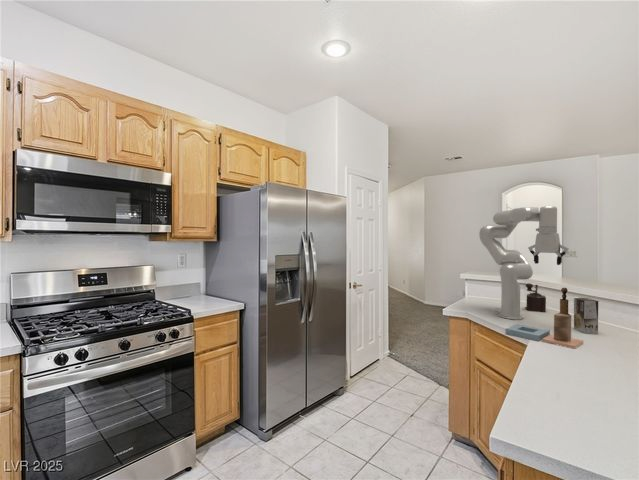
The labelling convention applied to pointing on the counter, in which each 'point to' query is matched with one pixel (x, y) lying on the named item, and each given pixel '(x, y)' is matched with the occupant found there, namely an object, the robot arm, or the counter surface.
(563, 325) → the walnut block
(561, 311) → the wooden chess piece
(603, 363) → the counter surface
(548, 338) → the terracotta tile
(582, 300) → the coffee box
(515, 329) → the pocket plate
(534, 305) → the dark brown boxy piece
